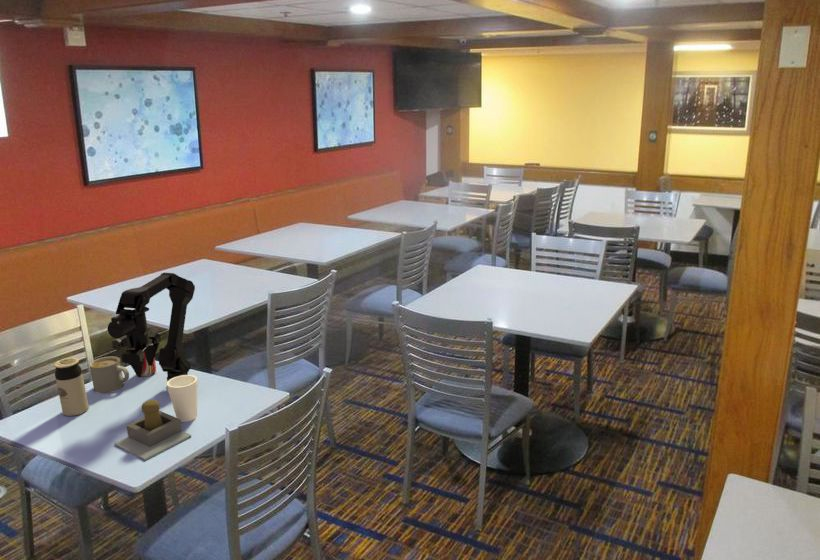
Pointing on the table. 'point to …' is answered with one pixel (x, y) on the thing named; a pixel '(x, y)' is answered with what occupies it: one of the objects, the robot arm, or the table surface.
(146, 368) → the soda can
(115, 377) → the coffee mug
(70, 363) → the travel mug
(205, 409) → the table surface
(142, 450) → the socket
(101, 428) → the table surface
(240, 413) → the table surface
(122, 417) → the table surface
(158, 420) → the cork
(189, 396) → the foam cup
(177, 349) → the robot arm
